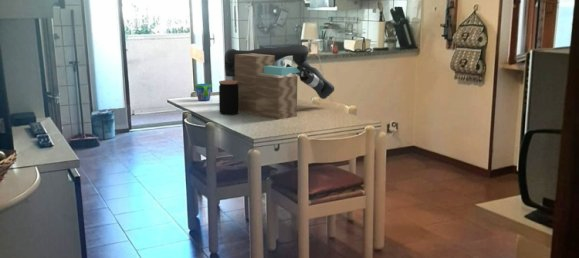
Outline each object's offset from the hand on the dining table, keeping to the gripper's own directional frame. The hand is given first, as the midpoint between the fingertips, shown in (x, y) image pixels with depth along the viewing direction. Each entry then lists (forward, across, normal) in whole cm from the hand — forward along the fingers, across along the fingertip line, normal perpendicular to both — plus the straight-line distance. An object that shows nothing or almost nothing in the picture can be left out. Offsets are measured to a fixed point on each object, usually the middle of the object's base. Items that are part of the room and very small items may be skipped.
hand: (292, 66), depth 313 cm
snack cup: (-4, -68, +28) cm, 74 cm away
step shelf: (-3, -9, +29) cm, 30 cm away
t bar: (+3, 0, +6) cm, 6 cm away
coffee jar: (+11, -22, +37) cm, 44 cm away
